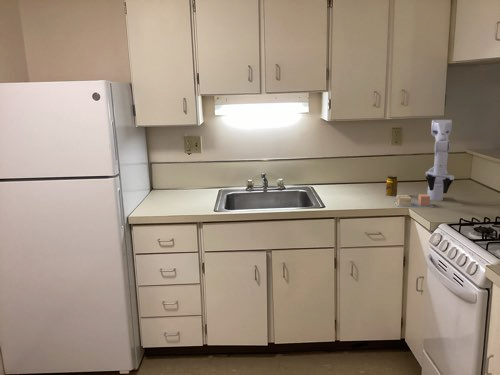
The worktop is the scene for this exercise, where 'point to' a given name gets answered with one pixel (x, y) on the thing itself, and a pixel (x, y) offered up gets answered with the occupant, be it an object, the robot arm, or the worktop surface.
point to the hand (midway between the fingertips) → (438, 191)
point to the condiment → (391, 186)
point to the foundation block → (403, 200)
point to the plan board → (412, 204)
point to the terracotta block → (424, 200)
